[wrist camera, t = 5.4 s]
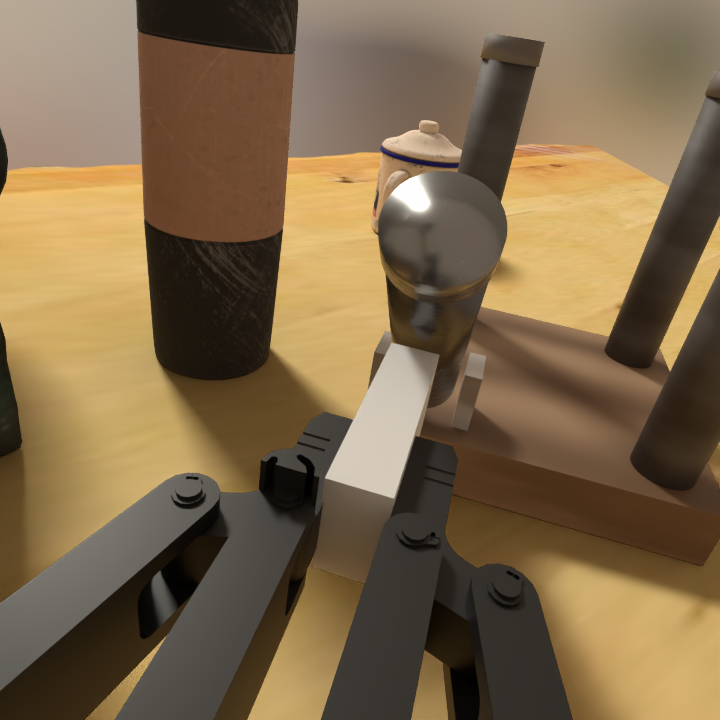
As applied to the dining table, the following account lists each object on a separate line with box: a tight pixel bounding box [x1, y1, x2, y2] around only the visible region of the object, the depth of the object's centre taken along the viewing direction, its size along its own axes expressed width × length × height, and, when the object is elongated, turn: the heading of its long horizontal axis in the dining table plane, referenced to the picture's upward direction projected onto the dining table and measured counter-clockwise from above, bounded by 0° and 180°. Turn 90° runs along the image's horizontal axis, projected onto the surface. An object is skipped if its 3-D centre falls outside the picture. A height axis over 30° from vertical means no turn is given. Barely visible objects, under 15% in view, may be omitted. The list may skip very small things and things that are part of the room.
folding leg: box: [378, 171, 507, 408], centre depth 22 cm, size 3×3×15 cm
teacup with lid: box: [371, 120, 462, 233], centre depth 61 cm, size 12×9×12 cm
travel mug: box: [136, 0, 298, 380], centre depth 32 cm, size 8×8×20 cm
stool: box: [368, 33, 720, 566], centre depth 31 cm, size 17×17×20 cm
